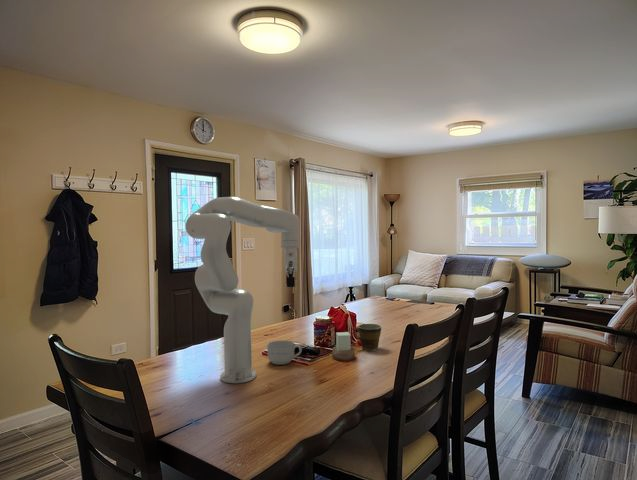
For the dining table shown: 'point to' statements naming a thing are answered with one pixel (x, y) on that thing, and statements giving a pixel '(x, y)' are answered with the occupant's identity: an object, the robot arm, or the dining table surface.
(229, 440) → the dining table surface
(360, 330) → the ceramic cup
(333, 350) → the brown round dish
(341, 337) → the sage block
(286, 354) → the teacup
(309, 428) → the dining table surface
